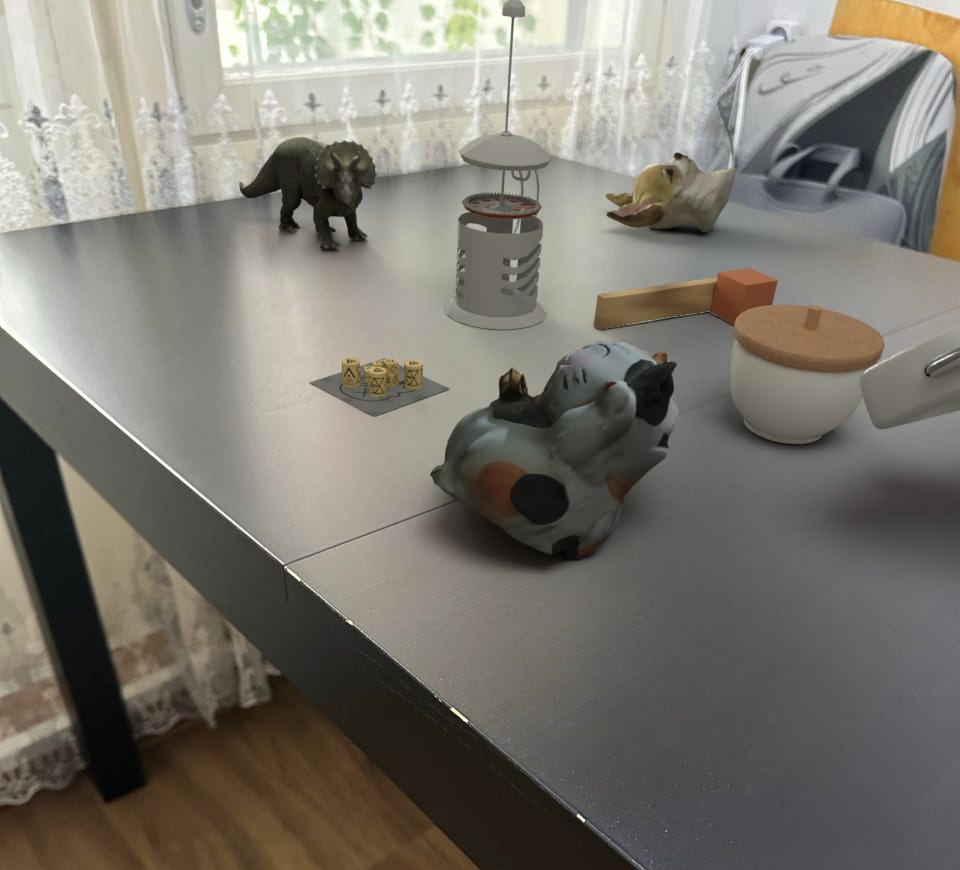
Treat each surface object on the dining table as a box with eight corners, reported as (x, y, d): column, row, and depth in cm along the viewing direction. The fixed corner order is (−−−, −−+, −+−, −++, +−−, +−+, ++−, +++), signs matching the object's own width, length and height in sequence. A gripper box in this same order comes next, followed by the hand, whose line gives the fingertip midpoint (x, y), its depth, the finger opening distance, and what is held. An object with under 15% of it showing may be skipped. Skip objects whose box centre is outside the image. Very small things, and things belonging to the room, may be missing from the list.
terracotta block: (740, 308, 95) (750, 267, 93) (768, 321, 93) (778, 280, 90) (710, 313, 94) (718, 272, 91) (736, 327, 91) (746, 285, 89)
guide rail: (720, 305, 96) (726, 275, 94) (728, 309, 95) (734, 279, 93) (593, 326, 90) (597, 294, 88) (600, 330, 89) (604, 298, 87)
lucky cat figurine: (462, 448, 69) (567, 272, 63) (600, 541, 69) (718, 373, 63) (396, 490, 55) (522, 270, 49) (569, 606, 55) (715, 399, 49)
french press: (426, 315, 89) (431, -4, 74) (479, 281, 98) (493, -12, 82) (521, 337, 86) (548, 9, 71) (568, 300, 95) (600, -1, 79)
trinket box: (710, 391, 79) (735, 276, 73) (841, 404, 78) (877, 290, 72) (718, 450, 71) (746, 326, 65) (864, 466, 70) (907, 342, 64)
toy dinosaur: (234, 219, 111) (222, 110, 104) (295, 208, 115) (288, 104, 108) (346, 270, 98) (341, 150, 91) (409, 256, 103) (410, 141, 96)
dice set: (426, 386, 77) (426, 363, 76) (378, 403, 74) (377, 380, 73) (385, 367, 80) (385, 344, 78) (337, 382, 77) (336, 359, 76)
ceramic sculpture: (744, 162, 107) (610, 161, 108) (732, 243, 112) (604, 241, 113) (733, 144, 115) (608, 142, 116) (722, 219, 120) (603, 218, 122)
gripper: (1009, 397, 47) (814, 483, 60) (1237, 340, 55) (1023, 425, 68) (968, 277, 47) (782, 388, 60) (1201, 238, 55) (995, 342, 68)
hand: (912, 407), depth 64 cm, fingers closed
